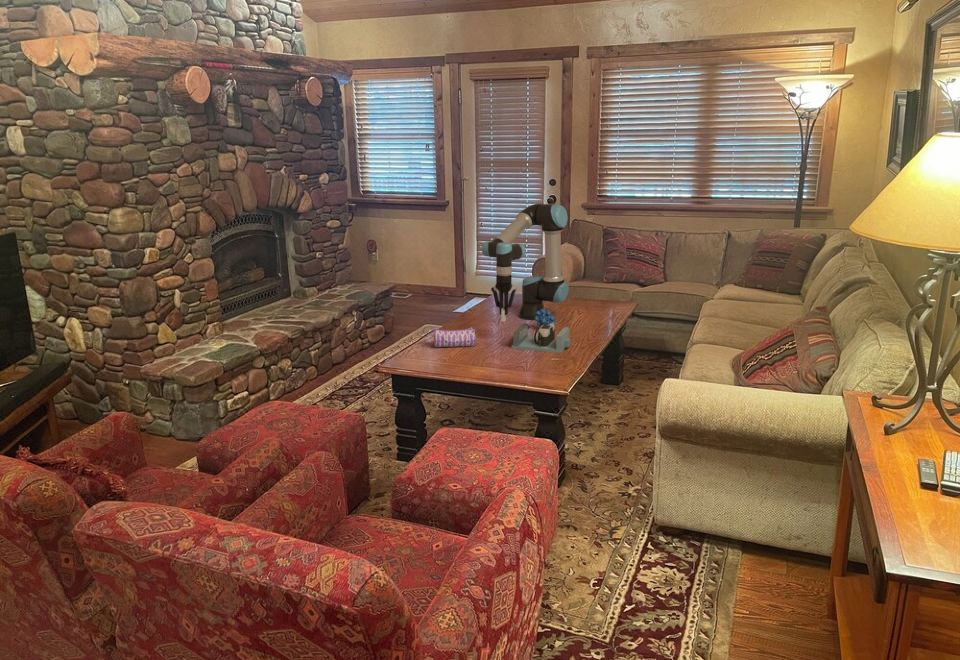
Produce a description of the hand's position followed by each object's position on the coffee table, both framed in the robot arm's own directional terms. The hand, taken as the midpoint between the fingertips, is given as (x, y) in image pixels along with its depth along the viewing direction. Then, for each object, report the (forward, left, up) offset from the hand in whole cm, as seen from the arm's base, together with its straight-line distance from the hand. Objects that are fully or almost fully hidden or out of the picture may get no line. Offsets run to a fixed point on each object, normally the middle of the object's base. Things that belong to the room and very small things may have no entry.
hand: (503, 320), depth 352 cm
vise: (0, +19, -12) cm, 22 cm away
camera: (-1, +21, -10) cm, 23 cm away
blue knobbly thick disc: (-26, +14, -12) cm, 32 cm away
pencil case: (+12, -21, -12) cm, 27 cm away
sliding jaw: (-3, +9, -10) cm, 14 cm away
